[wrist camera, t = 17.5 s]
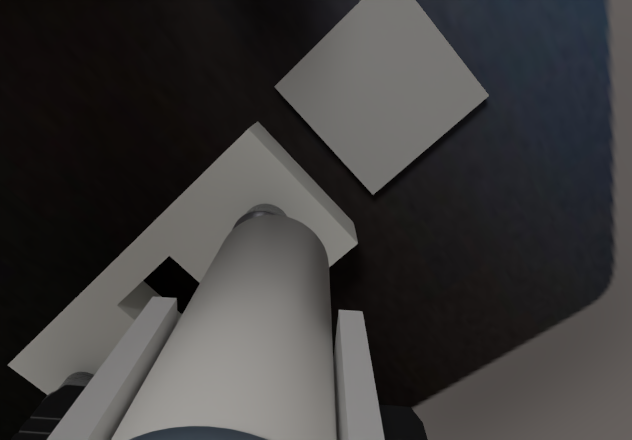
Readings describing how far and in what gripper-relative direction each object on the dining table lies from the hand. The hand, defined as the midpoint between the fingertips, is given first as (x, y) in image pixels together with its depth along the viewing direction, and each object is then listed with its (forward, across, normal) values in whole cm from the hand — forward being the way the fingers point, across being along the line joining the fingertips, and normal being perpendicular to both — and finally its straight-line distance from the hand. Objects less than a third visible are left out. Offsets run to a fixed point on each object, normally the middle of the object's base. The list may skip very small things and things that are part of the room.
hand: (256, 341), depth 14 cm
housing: (+25, -9, -11) cm, 29 cm away
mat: (+25, +6, +7) cm, 27 cm away
